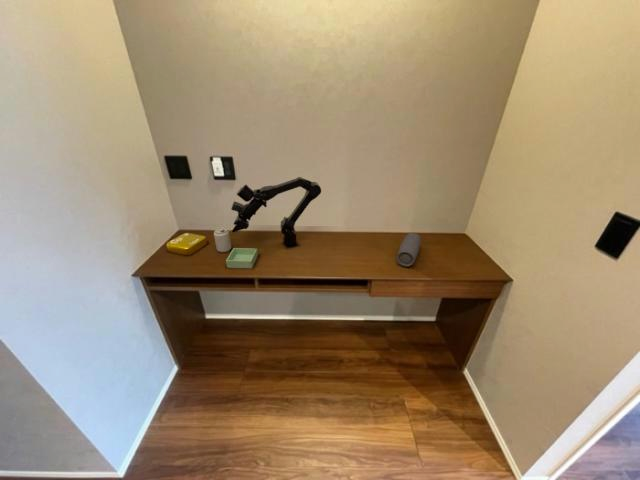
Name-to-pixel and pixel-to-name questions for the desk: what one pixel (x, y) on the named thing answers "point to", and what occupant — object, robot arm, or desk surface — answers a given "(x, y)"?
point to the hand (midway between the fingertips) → (233, 228)
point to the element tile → (186, 244)
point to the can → (222, 240)
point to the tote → (242, 258)
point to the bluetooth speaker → (409, 249)
